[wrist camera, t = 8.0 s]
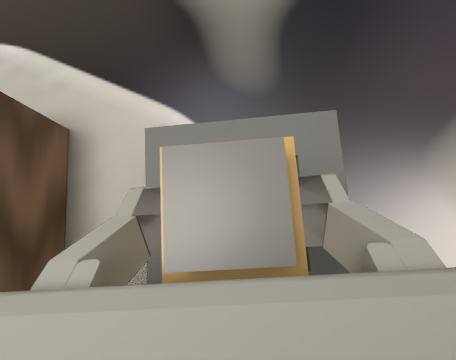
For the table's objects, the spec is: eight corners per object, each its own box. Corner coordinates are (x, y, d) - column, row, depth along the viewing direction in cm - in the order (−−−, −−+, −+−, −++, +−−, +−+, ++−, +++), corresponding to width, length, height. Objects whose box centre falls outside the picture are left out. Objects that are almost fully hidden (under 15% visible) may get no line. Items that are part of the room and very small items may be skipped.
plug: (281, 258, 15) (322, 288, 6) (202, 263, 15) (142, 297, 7) (273, 180, 16) (302, 115, 7) (198, 185, 16) (142, 129, 7)
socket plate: (352, 309, 17) (365, 319, 15) (159, 318, 18) (148, 329, 16) (327, 122, 19) (335, 110, 17) (155, 138, 20) (144, 128, 18)
